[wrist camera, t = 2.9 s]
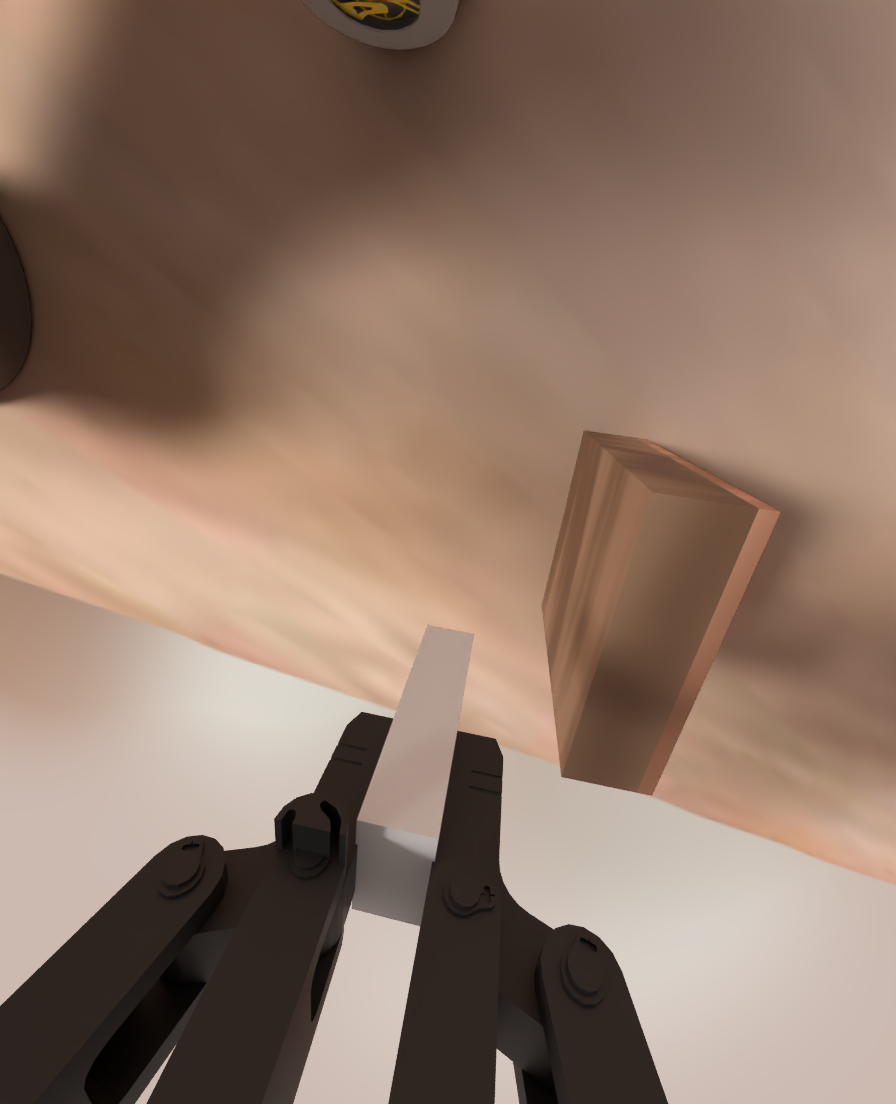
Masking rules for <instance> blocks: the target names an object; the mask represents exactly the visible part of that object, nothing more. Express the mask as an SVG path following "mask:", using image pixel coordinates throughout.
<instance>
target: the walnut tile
mask: <svg viewBox="0 0 896 1104" xmlns="http://www.w3.org/2000/svg"><path fill="white" fill-rule="evenodd" d="M780 513H781V512H780V511H778V510H777V509H775V508H773V507H771V506H769V505H767V504H765V503H764V502H762V501H760V500H758V499H756V498H754V497H752V496H751V495H749V494H747V493H745V492H743V491H741V490H739V489H737V488H736V487H734V486H732V485H730V484H728V483H726V482H724V481H723V480H721V479H719V478H717V477H715V476H713V475H711V474H710V473H708V472H706V471H704V470H702V469H700V468H698V467H697V466H695V465H693V464H691V463H689V462H687V461H685V460H683V459H682V458H680V457H678V456H676V455H674V454H672V453H670V452H669V451H667V450H665V449H663V448H661V447H659V446H657V445H656V444H654V443H652V442H650V441H648V440H646V439H639V438H632V437H625V436H618V435H611V434H604V433H596V432H589V431H584V433H583V437H582V441H581V445H580V450H579V454H578V458H577V462H576V466H575V470H574V474H573V479H572V483H571V487H570V491H569V495H568V499H567V503H566V508H565V512H564V516H563V520H562V524H561V528H560V532H559V537H558V541H557V545H556V549H555V553H554V557H553V562H552V566H551V570H550V574H549V578H548V582H547V586H546V591H545V595H544V599H543V603H542V610H543V619H544V628H545V637H546V645H547V654H548V663H549V672H550V681H551V689H552V698H553V707H554V716H555V724H556V733H557V742H558V751H559V760H560V768H561V776H562V777H564V778H569V779H574V780H579V781H584V782H589V783H593V784H599V785H603V786H608V787H613V788H617V789H622V790H627V791H632V792H637V793H641V794H646V795H651V796H652V795H653V792H654V790H655V788H656V786H657V784H658V781H659V779H660V777H661V775H662V773H663V770H664V768H665V766H666V764H667V762H668V759H669V757H670V755H671V753H672V751H673V748H674V746H675V744H676V742H677V740H678V737H679V735H680V733H681V731H682V729H683V726H684V724H685V722H686V720H687V718H688V715H689V713H690V711H691V709H692V707H693V704H694V702H695V700H696V698H697V696H698V693H699V691H700V689H701V687H702V685H703V682H704V680H705V678H706V676H707V674H708V671H709V669H710V667H711V665H712V662H713V660H714V658H715V656H716V654H717V651H718V649H719V647H720V645H721V643H722V640H723V638H724V636H725V634H726V632H727V629H728V627H729V625H730V623H731V621H732V618H733V616H734V614H735V612H736V610H737V607H738V605H739V603H740V601H741V599H742V596H743V594H744V592H745V590H746V588H747V585H748V583H749V581H750V579H751V577H752V574H753V572H754V570H755V568H756V566H757V563H758V561H759V559H760V557H761V555H762V552H763V550H764V548H765V546H766V544H767V541H768V539H769V537H770V535H771V533H772V530H773V528H774V526H775V524H776V522H777V519H778V517H779V515H780Z"/></svg>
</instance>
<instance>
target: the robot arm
mask: <svg viewBox="0 0 896 1104" xmlns="http://www.w3.org/2000/svg"><path fill="white" fill-rule="evenodd" d="M30 334H31V310H30V301H29V294H28V289H27V284H26V280H25V277H24V273H23V270H22V267H21V263H20V260H19V258H18V255H17V252H16V250H15V248H14V245H13V243H12V241H11V238H10V236H9V234H8V232H7V230H6V228H5V226H4V225H3V223H2V221H1V219H0V389H2V388H3V387H5V386H6V385H7V384H8V383H10V382H11V381H12V380H13V378H14V377H15V376H16V375H17V373H18V372H19V370H20V368H21V366H22V365H23V362H24V360H25V357H26V354H27V351H28V347H29V342H30ZM473 637H474V634H471V633H466V632H461V631H456V630H450V629H445V628H440V627H434V626H429V625H427V628H426V631H425V634H424V636H423V639H422V642H421V645H420V647H419V650H418V653H417V656H416V658H415V661H414V664H413V667H412V669H411V672H410V675H409V678H408V680H407V683H406V686H405V689H404V691H403V694H402V697H401V700H400V702H399V705H398V708H397V711H396V713H395V716H394V719H393V718H388V717H384V716H378V715H374V714H369V713H364V712H361V713H360V714H359V715H358V716H357V717H356V718H354V719H353V720H352V721H351V722H350V723H349V724H348V725H347V726H346V728H345V730H344V732H343V734H342V736H341V738H340V741H339V743H338V746H336V749H335V751H334V753H333V755H332V757H331V760H330V761H329V763H328V765H327V767H326V769H325V771H324V773H323V775H322V777H321V779H320V781H319V784H318V785H317V788H316V789H315V792H314V793H310V794H307V795H304V796H301V797H297V798H296V799H294V800H293V801H291V802H290V803H288V804H287V805H285V806H284V807H283V808H282V810H281V811H280V812H279V814H278V815H277V816H276V817H275V819H274V821H275V838H276V841H275V842H273V843H270V844H268V845H264V846H259V847H254V848H246V849H237V850H228V851H224V849H223V847H222V846H221V845H220V844H219V842H218V841H217V840H216V839H214V838H211V837H207V836H204V835H198V836H190V837H185V838H183V839H181V840H178V841H176V842H174V843H171V844H170V845H169V846H167V847H166V848H164V849H163V850H162V851H161V852H159V853H158V854H157V855H155V856H154V857H153V858H152V859H151V860H150V861H149V862H148V863H147V864H146V865H145V866H144V867H143V868H142V869H141V870H140V871H139V872H138V873H137V874H136V875H135V876H134V877H133V878H132V879H131V880H130V881H129V882H128V883H126V885H125V886H123V887H122V889H120V890H119V891H118V892H117V893H116V894H115V895H114V896H113V897H112V898H111V899H110V900H109V901H108V902H107V903H106V904H105V905H104V906H103V907H102V908H101V909H100V910H99V911H98V912H97V913H96V914H95V915H94V916H93V917H91V918H90V919H89V920H88V921H87V923H85V924H84V925H83V926H82V927H81V928H80V929H79V930H78V931H77V932H76V933H75V934H74V935H73V936H72V937H71V938H70V939H69V940H68V941H67V942H66V943H65V944H64V945H63V946H62V947H61V948H60V949H59V950H58V951H57V952H56V953H55V954H53V955H52V956H51V957H50V958H49V959H48V960H47V961H46V962H45V963H44V964H43V965H42V966H41V967H40V968H39V969H38V970H37V971H36V972H35V973H34V974H33V975H32V976H31V977H30V978H29V979H28V980H27V981H26V982H25V983H24V984H23V985H22V986H20V987H19V988H18V989H17V990H16V991H15V992H14V993H13V994H12V995H11V996H10V997H9V998H8V999H7V1000H6V1001H5V1002H4V1003H3V1004H2V1005H1V1006H0V1104H135V1103H136V1101H137V1100H138V1098H139V1097H140V1095H141V1094H142V1093H143V1091H144V1090H145V1088H146V1087H147V1085H148V1084H149V1082H150V1081H151V1079H152V1078H153V1077H154V1075H155V1074H156V1073H157V1071H158V1070H159V1068H160V1066H161V1065H162V1064H163V1062H164V1061H165V1060H166V1058H167V1057H168V1055H169V1054H170V1052H171V1051H172V1050H173V1048H174V1047H175V1045H176V1044H177V1045H176V1047H175V1049H174V1051H173V1053H172V1055H171V1057H170V1059H169V1060H168V1062H167V1064H166V1066H165V1069H164V1070H163V1072H162V1074H161V1076H160V1079H159V1080H158V1082H157V1084H156V1086H155V1088H154V1090H153V1092H152V1094H151V1096H150V1098H149V1100H148V1102H147V1104H293V1102H294V1099H295V1096H296V1092H297V1089H298V1086H299V1083H300V1079H301V1076H302V1073H303V1069H304V1066H305V1063H306V1060H307V1057H308V1053H309V1050H310V1047H311V1044H312V1040H313V1037H314V1034H315V1030H316V1027H317V1024H318V1021H319V1017H320V1014H321V1011H322V1008H323V1005H324V1001H325V998H326V995H327V991H328V988H329V985H330V982H331V978H332V975H333V972H334V969H335V966H336V962H337V959H338V956H339V952H340V949H341V946H342V940H343V933H344V924H345V921H346V918H347V914H348V911H349V908H350V905H351V901H352V909H355V910H359V911H363V912H367V913H371V914H375V915H379V916H383V917H386V918H390V919H394V920H399V921H402V922H406V923H410V924H414V925H418V926H420V932H419V937H418V943H417V948H416V954H415V960H414V965H413V971H412V976H411V982H410V987H409V993H408V998H407V1004H406V1010H405V1015H404V1021H403V1027H402V1032H401V1037H400V1043H399V1048H398V1054H397V1060H396V1065H395V1070H394V1076H393V1082H392V1087H391V1092H390V1098H389V1104H494V1102H495V1073H496V1048H497V1049H498V1050H499V1051H501V1052H502V1053H503V1054H504V1055H506V1056H507V1057H508V1058H509V1059H510V1060H512V1061H513V1064H514V1070H515V1077H516V1084H517V1090H518V1097H519V1104H668V1102H667V1099H666V1096H665V1093H664V1090H663V1088H662V1085H661V1082H660V1079H659V1076H658V1073H657V1070H656V1068H655V1065H654V1062H653V1059H652V1056H651V1053H650V1051H649V1048H648V1045H647V1042H646V1039H645V1036H644V1033H643V1030H642V1028H641V1025H640V1022H639V1019H638V1016H637V1013H636V1010H635V1008H634V1005H633V1002H632V999H631V996H630V993H629V991H628V987H627V985H626V982H625V979H624V976H623V973H622V971H621V969H620V967H619V965H618V963H617V961H616V959H615V957H614V955H613V953H612V952H611V950H610V949H609V948H608V947H607V946H606V945H605V944H604V942H603V941H602V940H601V939H600V938H599V937H598V936H596V935H595V934H593V933H592V932H590V931H589V930H587V929H586V928H584V927H580V926H575V925H569V924H568V925H565V926H561V927H558V928H555V929H552V928H551V927H549V926H547V925H546V924H544V923H543V922H541V921H540V920H538V919H537V918H535V917H534V916H532V915H530V914H529V913H528V912H527V911H525V910H524V909H523V908H522V907H520V906H519V905H518V904H517V903H516V901H515V900H514V899H513V898H512V896H511V895H510V894H509V892H508V890H507V888H506V886H505V885H504V883H503V880H502V876H501V873H500V866H499V847H500V823H501V799H502V797H501V794H502V775H503V774H502V773H503V755H502V753H501V751H500V748H499V746H498V743H497V741H496V739H494V738H489V737H484V736H480V735H475V734H470V733H465V732H461V731H457V729H458V724H459V718H460V712H461V706H462V700H463V695H464V689H465V683H466V677H467V672H468V666H469V660H470V654H471V648H472V643H473Z"/></svg>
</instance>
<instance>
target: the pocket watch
mask: <svg viewBox="0 0 896 1104" xmlns="http://www.w3.org/2000/svg"><path fill="white" fill-rule="evenodd" d="M301 1H302V2H303V4H304V5H305V6H306V7H307V8H308V9H309V10H310V11H312V12H313V13H314V14H315V15H316V16H317V17H318V18H319V19H321V20H322V21H323V22H325V23H326V24H327V25H329V26H330V27H331V28H333V29H335V30H337V31H338V32H340V33H342V34H343V35H346V36H348V37H351V38H353V39H355V40H358V41H360V42H363V43H365V44H368V45H372V46H376V47H381V48H387V49H396V50H400V49H414V48H419V47H424V46H427V45H429V44H431V43H433V42H435V41H437V40H439V39H440V38H441V37H442V36H443V35H444V34H446V32H447V31H448V29H449V28H450V26H451V25H452V23H453V21H454V17H455V14H456V11H457V7H458V3H459V0H301Z"/></svg>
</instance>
